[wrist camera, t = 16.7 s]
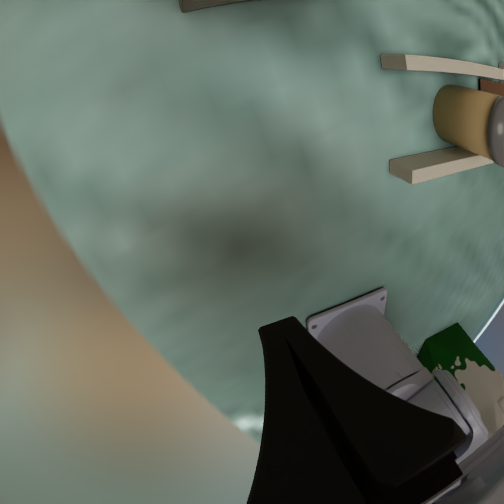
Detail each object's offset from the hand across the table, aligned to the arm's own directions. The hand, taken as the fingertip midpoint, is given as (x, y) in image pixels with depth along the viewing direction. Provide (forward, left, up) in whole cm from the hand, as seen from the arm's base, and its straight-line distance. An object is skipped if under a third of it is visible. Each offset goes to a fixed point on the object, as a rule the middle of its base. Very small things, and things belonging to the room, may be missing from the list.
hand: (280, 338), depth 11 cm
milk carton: (-28, -24, -10) cm, 38 cm away
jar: (+5, -19, -9) cm, 22 cm away
